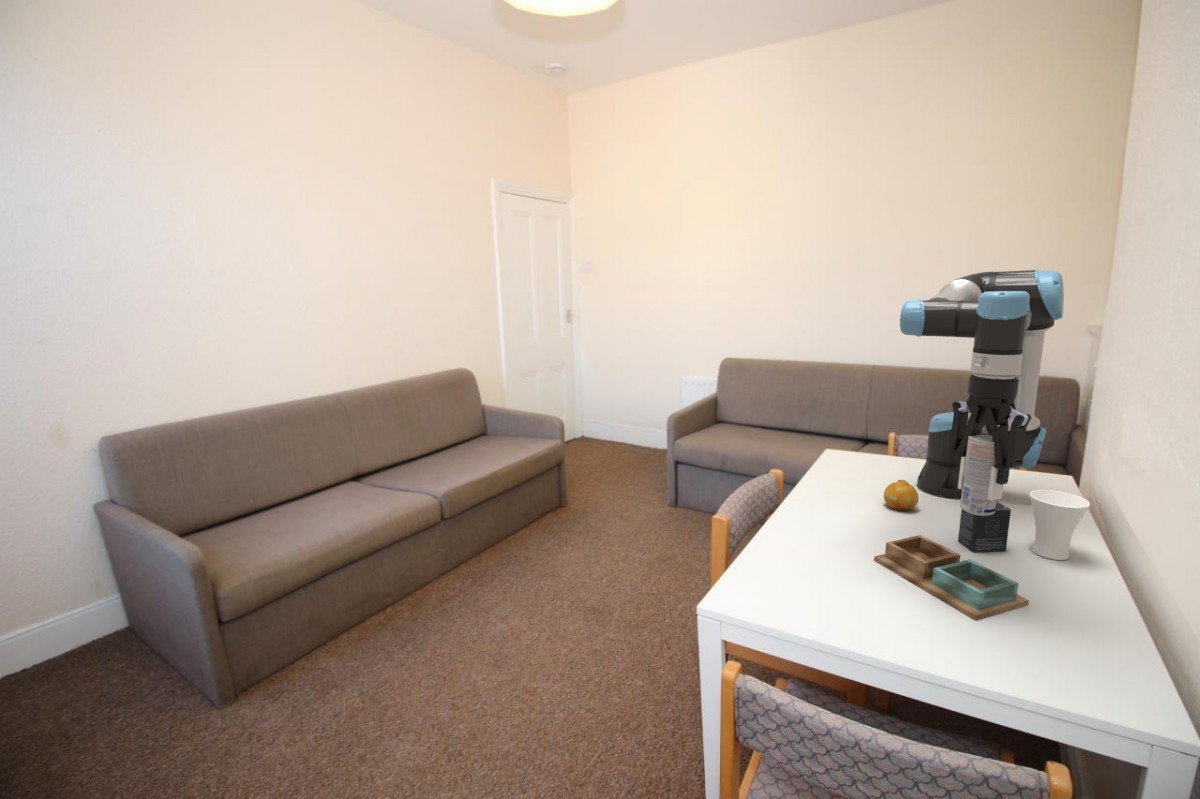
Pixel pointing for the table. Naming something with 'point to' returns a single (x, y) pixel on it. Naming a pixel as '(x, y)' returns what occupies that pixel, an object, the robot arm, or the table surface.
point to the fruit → (901, 495)
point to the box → (985, 530)
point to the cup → (1055, 521)
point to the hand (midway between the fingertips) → (979, 492)
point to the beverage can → (978, 476)
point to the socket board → (951, 577)
